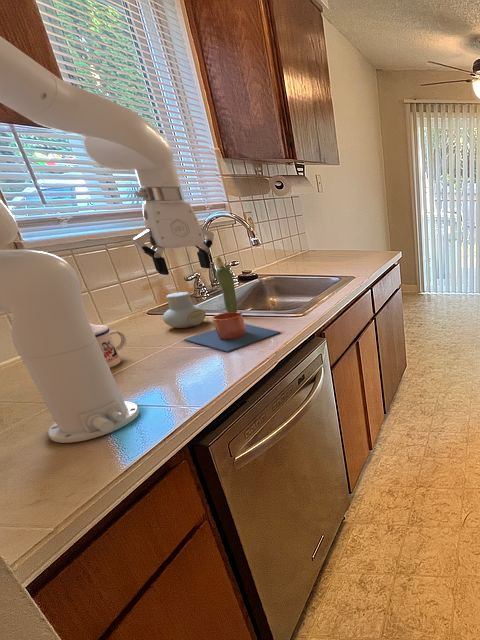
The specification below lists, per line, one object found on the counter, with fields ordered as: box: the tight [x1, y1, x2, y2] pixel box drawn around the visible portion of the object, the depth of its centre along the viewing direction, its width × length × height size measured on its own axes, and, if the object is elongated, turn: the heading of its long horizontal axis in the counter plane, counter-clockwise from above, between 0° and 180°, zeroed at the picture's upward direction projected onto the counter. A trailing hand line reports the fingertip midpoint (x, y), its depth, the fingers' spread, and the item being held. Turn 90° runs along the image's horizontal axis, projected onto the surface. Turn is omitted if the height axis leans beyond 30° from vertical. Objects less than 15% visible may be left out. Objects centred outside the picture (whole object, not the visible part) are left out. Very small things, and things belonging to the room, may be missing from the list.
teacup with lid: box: [90, 323, 127, 369], centre depth 97 cm, size 12×9×12 cm
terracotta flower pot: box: [212, 311, 247, 340], centre depth 114 cm, size 7×7×6 cm
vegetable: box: [215, 255, 238, 313], centre depth 130 cm, size 4×4×20 cm
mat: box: [183, 323, 281, 353], centre depth 115 cm, size 20×16×1 cm
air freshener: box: [162, 291, 207, 329], centre depth 123 cm, size 11×8×10 cm
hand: (185, 270), depth 99 cm, fingers open, 9 cm apart
